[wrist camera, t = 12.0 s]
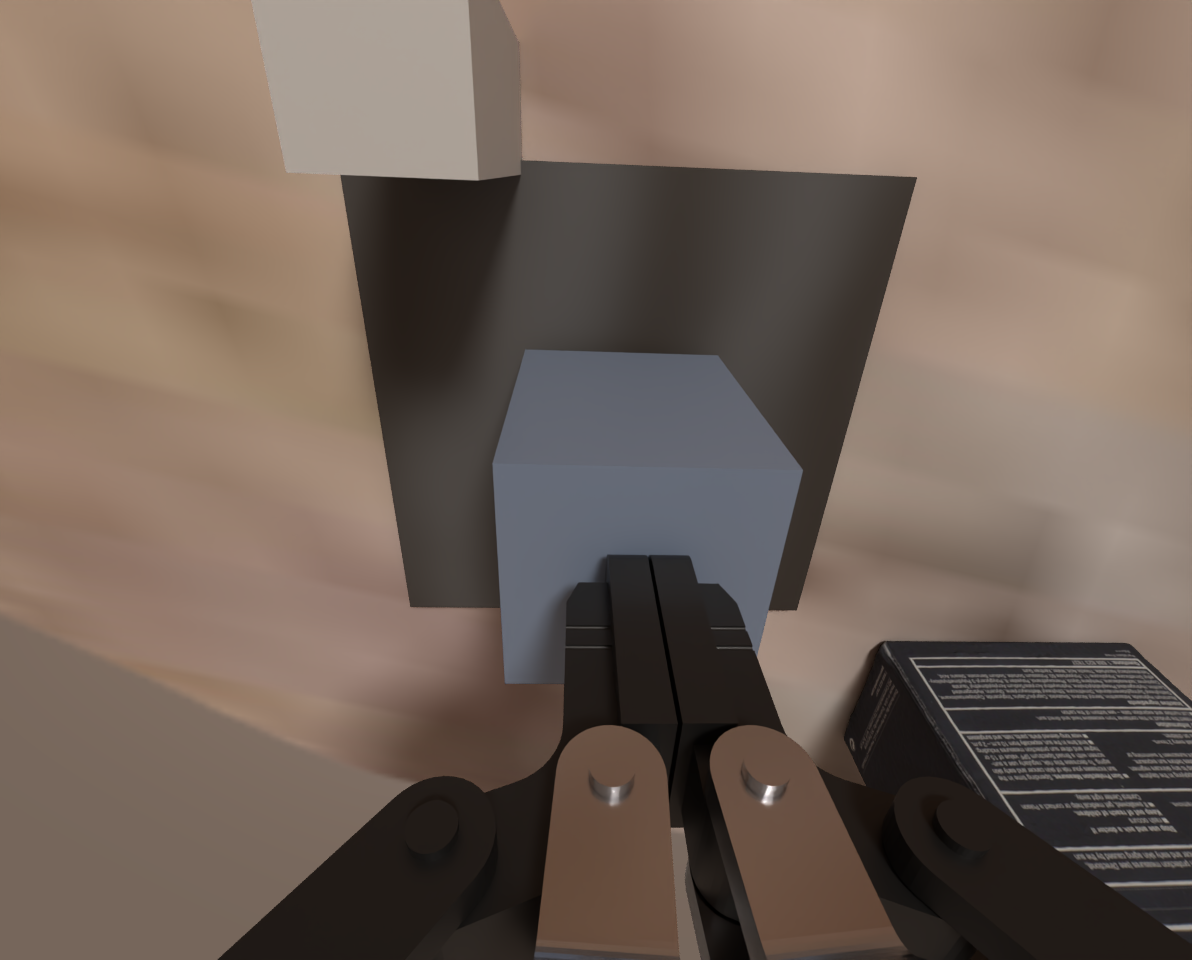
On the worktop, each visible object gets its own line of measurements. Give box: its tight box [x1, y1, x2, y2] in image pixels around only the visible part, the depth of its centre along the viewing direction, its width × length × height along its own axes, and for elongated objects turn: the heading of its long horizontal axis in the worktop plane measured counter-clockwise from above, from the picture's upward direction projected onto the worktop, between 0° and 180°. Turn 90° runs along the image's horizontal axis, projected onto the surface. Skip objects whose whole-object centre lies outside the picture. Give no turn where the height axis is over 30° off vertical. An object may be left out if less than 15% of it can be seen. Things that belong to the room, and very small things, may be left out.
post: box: [251, 0, 522, 180], centre depth 10 cm, size 3×3×7 cm
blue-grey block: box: [492, 349, 803, 684], centre depth 13 cm, size 5×5×7 cm
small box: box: [844, 641, 1192, 944], centre depth 19 cm, size 11×6×10 cm, turn 88°
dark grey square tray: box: [341, 160, 917, 610], centre depth 14 cm, size 14×14×7 cm
